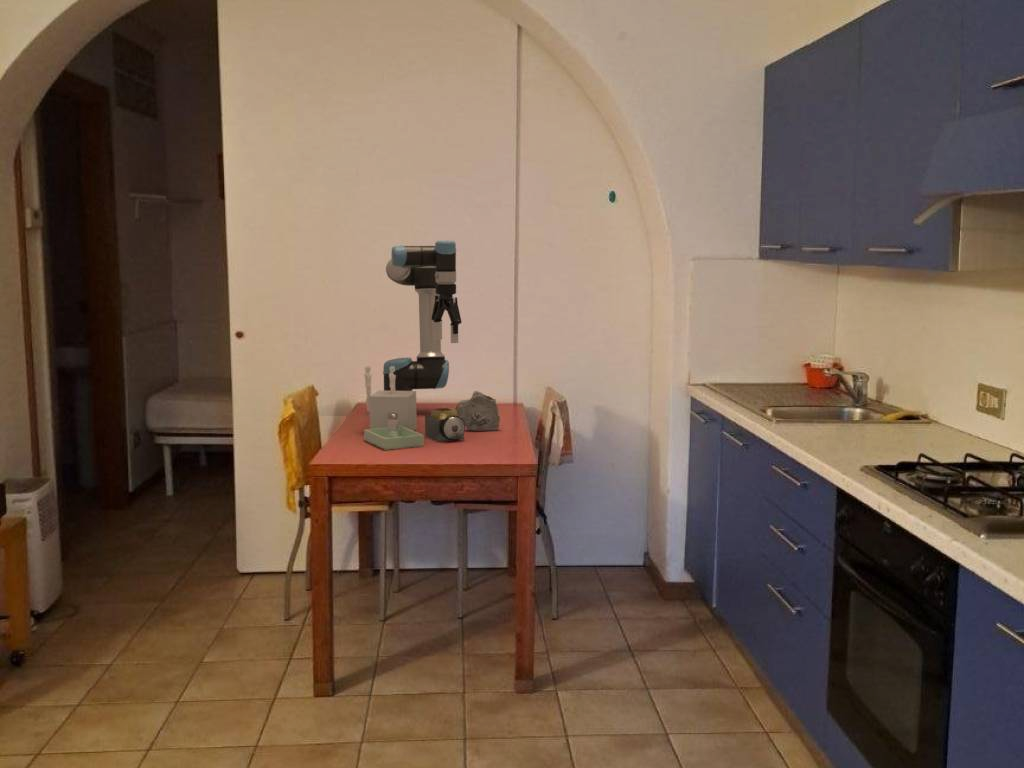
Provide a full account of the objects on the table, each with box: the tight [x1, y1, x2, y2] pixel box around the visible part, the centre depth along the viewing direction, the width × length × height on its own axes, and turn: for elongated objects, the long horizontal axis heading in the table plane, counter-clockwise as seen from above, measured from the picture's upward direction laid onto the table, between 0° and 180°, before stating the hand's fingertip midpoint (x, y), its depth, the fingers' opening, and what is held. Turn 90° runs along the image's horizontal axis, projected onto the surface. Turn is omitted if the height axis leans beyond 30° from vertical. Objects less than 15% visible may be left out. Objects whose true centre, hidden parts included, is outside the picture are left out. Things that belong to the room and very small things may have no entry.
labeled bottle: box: [388, 413, 399, 438], centre depth 358 cm, size 4×4×10 cm
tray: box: [363, 426, 425, 451], centre depth 359 cm, size 20×15×4 cm
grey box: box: [363, 365, 418, 431], centre depth 379 cm, size 15×18×25 cm
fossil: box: [454, 390, 501, 432], centre depth 382 cm, size 17×7×15 cm, turn 93°
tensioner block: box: [424, 407, 466, 443], centre depth 367 cm, size 15×10×10 cm, turn 29°
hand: (446, 341), depth 371 cm, fingers open, 13 cm apart
